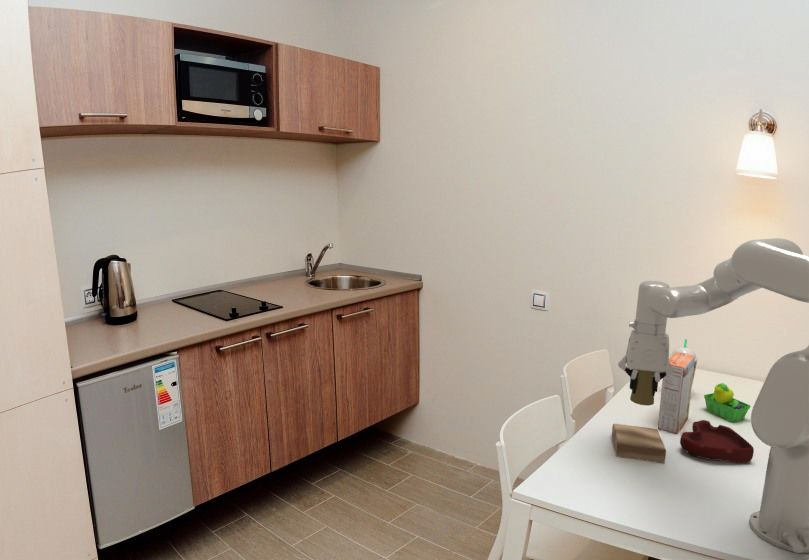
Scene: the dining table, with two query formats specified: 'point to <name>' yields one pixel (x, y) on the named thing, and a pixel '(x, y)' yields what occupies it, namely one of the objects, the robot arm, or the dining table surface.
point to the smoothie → (686, 351)
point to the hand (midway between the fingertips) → (642, 392)
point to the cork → (643, 388)
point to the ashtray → (716, 443)
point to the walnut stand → (638, 443)
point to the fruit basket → (725, 404)
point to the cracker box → (676, 393)
